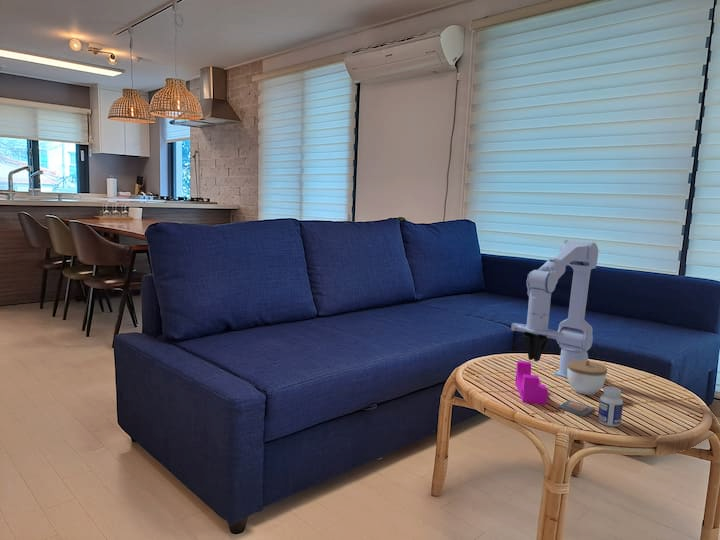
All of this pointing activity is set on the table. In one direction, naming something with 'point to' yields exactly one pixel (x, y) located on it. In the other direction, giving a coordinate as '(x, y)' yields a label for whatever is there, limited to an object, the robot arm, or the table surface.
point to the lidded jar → (586, 376)
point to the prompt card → (576, 408)
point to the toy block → (529, 385)
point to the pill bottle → (610, 407)
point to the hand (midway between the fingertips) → (534, 359)
